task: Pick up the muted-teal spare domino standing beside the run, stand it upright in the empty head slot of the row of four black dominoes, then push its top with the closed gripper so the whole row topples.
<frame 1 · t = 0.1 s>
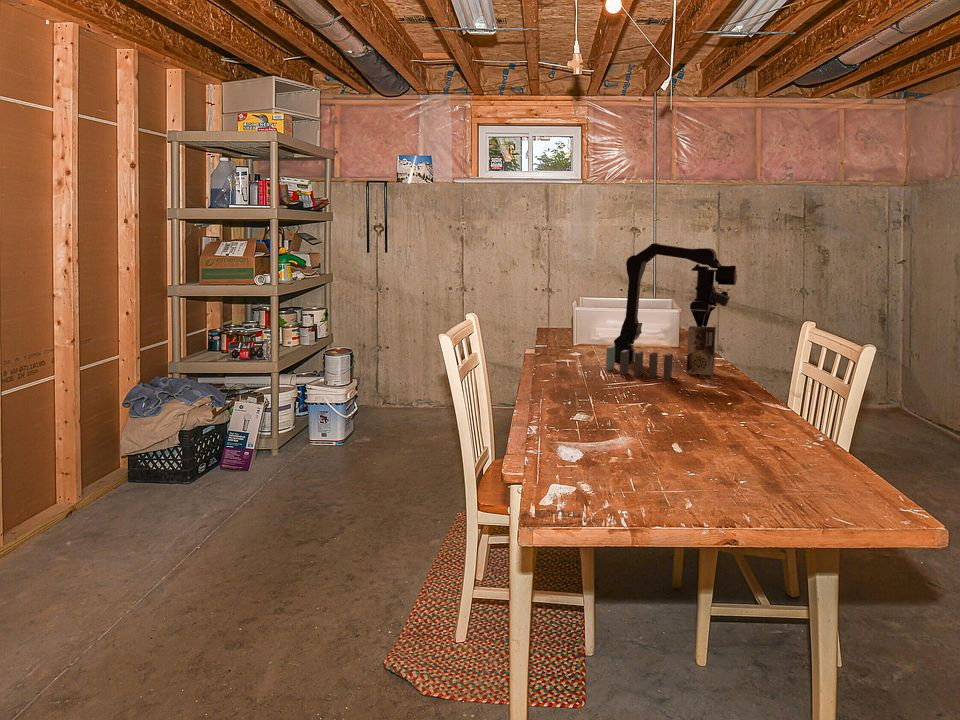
hand: (702, 327, 277), 15 cm above the table, fingers open, 9 cm apart
teal domino: (610, 368, 276), on the table
coffee box: (699, 373, 270), on the table
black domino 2: (623, 373, 267), on the table
black domino 4: (652, 376, 263), on the table
black domino 5: (667, 378, 261), on the table
black domino 3: (638, 375, 265), on the table
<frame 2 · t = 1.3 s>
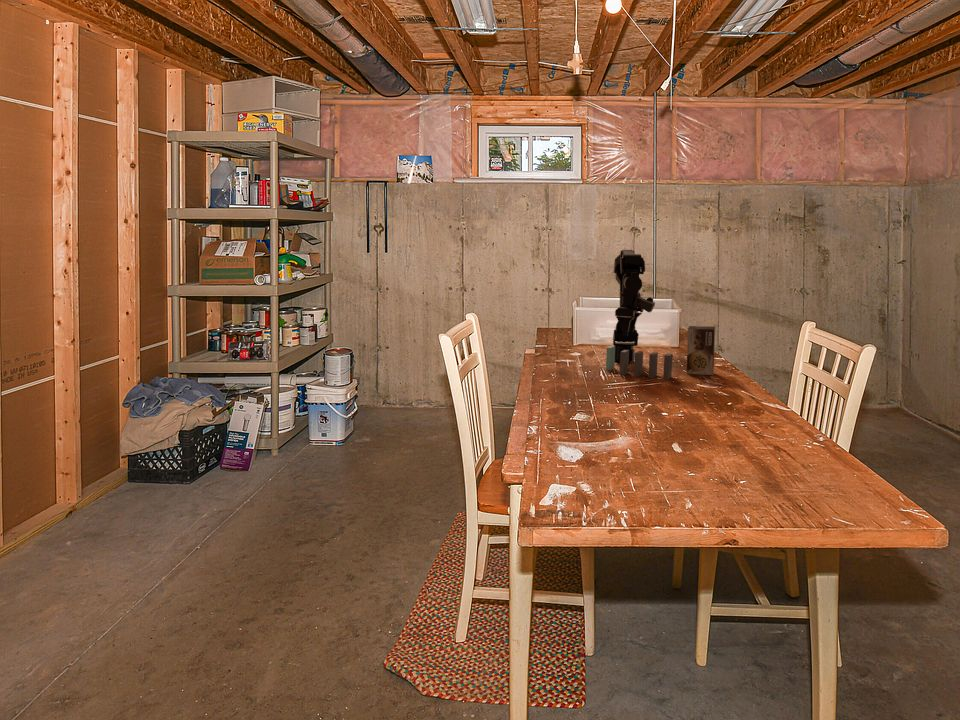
hand: (628, 334, 275), 12 cm above the table, fingers open, 9 cm apart
nothing on the table moved.
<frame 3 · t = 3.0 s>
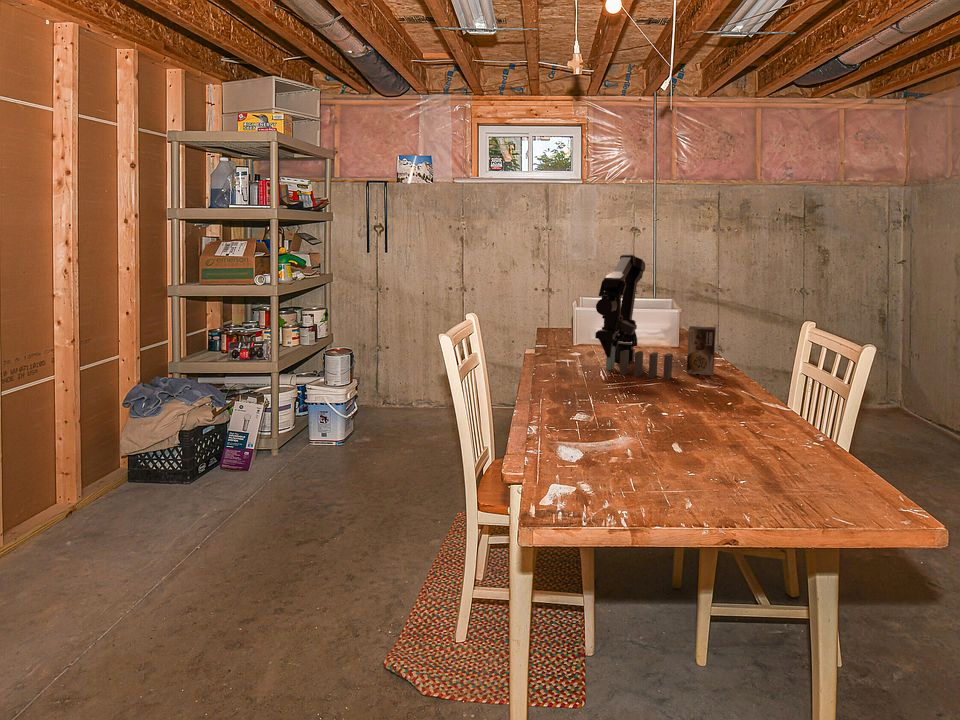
hand: (610, 356, 276), 5 cm above the table, fingers closed on teal domino, 5 cm apart
teal domino: (610, 368, 276), on the table, touching gripper
everything else where it was.
when the fingers open (6 cm above the table, at t = 6.6 s): teal domino drops 1 cm, on the table.
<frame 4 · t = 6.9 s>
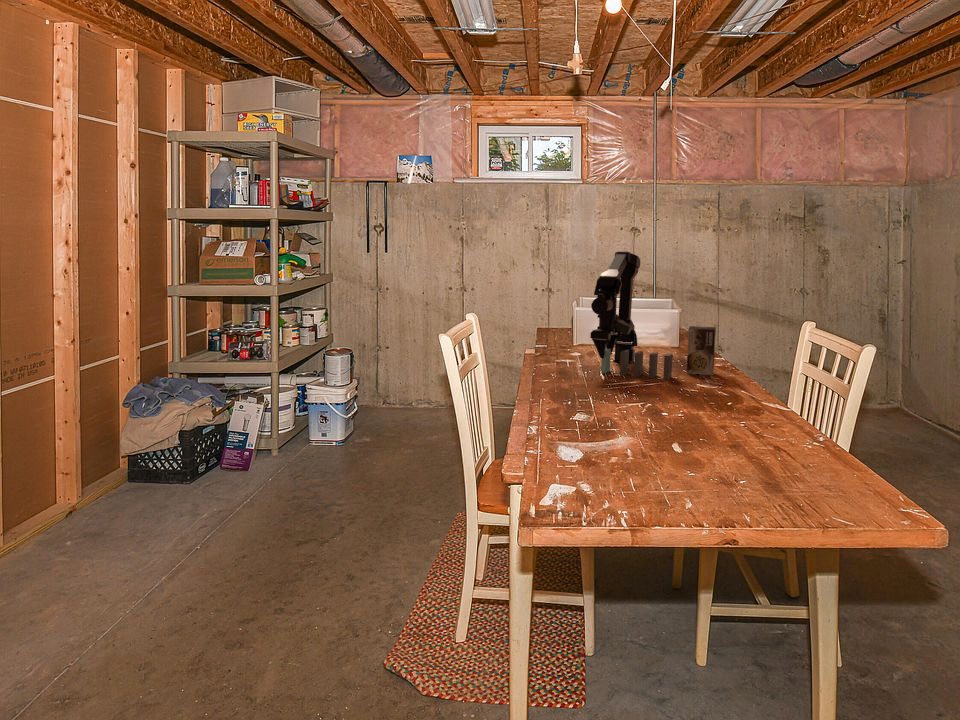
hand: (606, 356, 269), 6 cm above the table, fingers open, 9 cm apart
teal domino: (605, 372, 270), on the table
everything else where it was.
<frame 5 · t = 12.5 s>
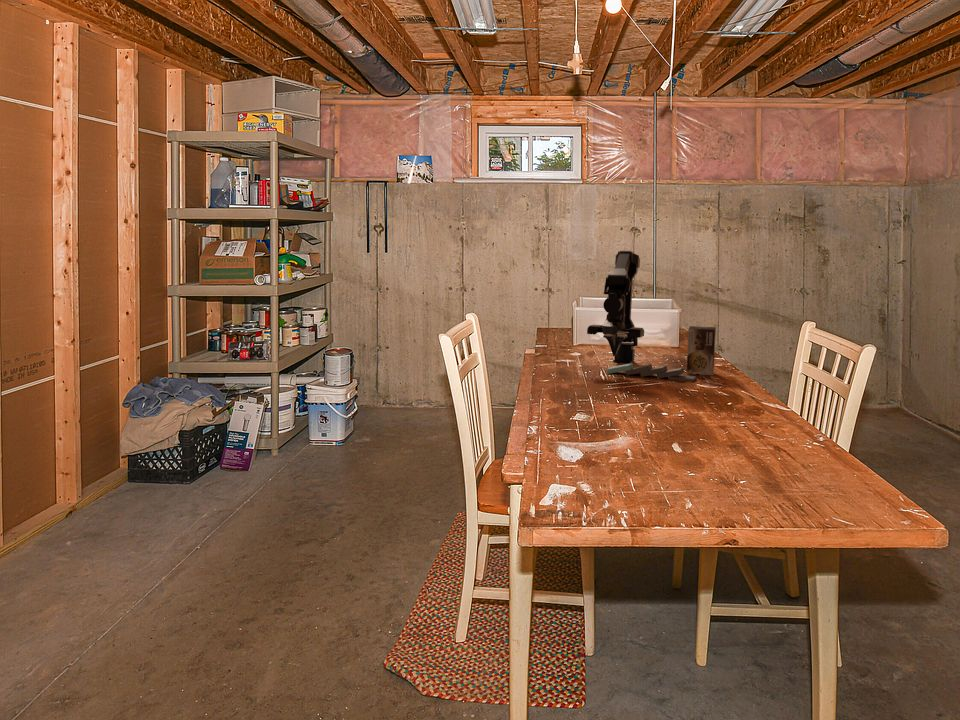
hand: (614, 355, 268), 6 cm above the table, fingers closed
teal domino: (609, 370, 269), point 1 cm above the table, tilted 75°
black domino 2: (627, 372, 267), point 1 cm above the table, tilted 72°, touching black domino 3
black domino 4: (658, 374, 262), point 1 cm above the table, tilted 75°, touching black domino 3
black domino 5: (670, 377, 260), on the table, tilted 90°
black domino 3: (642, 373, 264), point 1 cm above the table, tilted 73°, touching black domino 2, black domino 4
everything else where it was.
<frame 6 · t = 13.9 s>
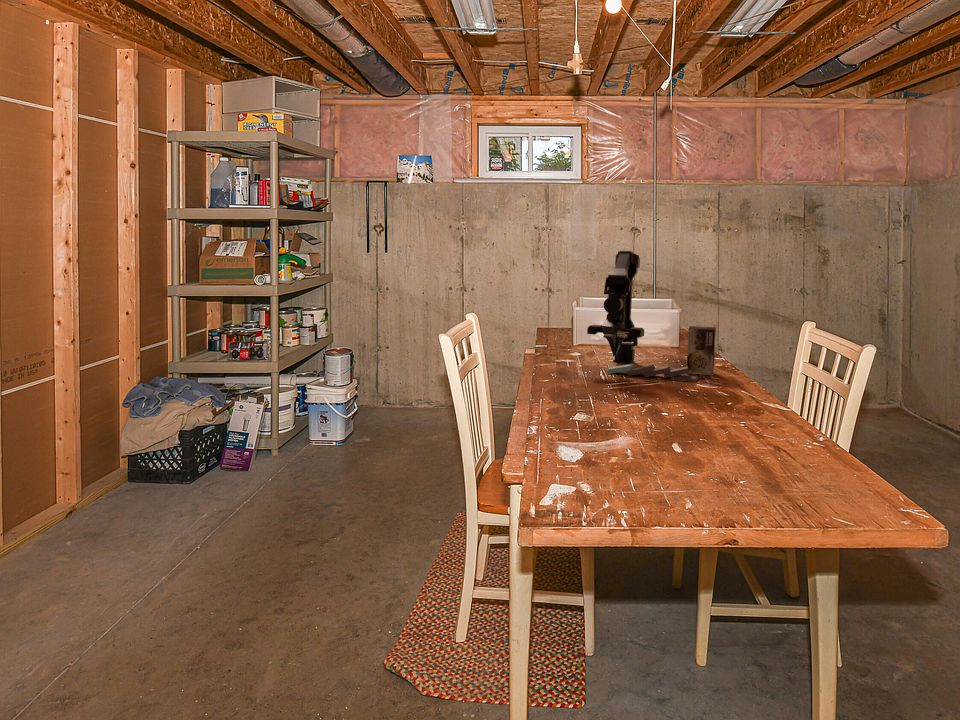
hand: (614, 355, 268), 6 cm above the table, fingers closed
teal domino: (610, 370, 269), point 1 cm above the table, tilted 76°, touching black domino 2
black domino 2: (630, 372, 266), point 1 cm above the table, tilted 73°, touching teal domino
black domino 4: (664, 374, 262), point 1 cm above the table, tilted 74°, touching black domino 3, black domino 5
black domino 5: (672, 378, 260), on the table, tilted 90°, touching black domino 4
black domino 3: (645, 373, 264), point 1 cm above the table, tilted 73°, touching black domino 4
everything else where it was.
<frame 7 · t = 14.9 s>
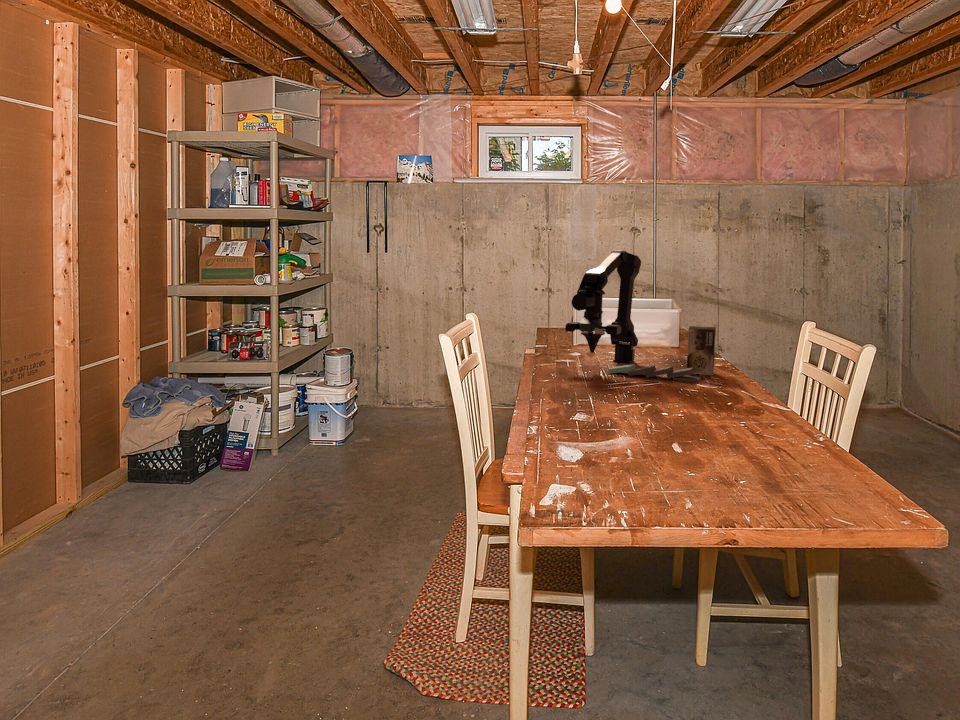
hand: (592, 352, 272), 6 cm above the table, fingers closed
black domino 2: (631, 372, 266), point 1 cm above the table, tilted 74°, touching black domino 3, teal domino
black domino 4: (668, 374, 260), point 1 cm above the table, tilted 75°
black domino 5: (674, 378, 260), on the table, tilted 90°
black domino 3: (648, 374, 263), point 1 cm above the table, tilted 73°, touching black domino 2
everything else where it was.
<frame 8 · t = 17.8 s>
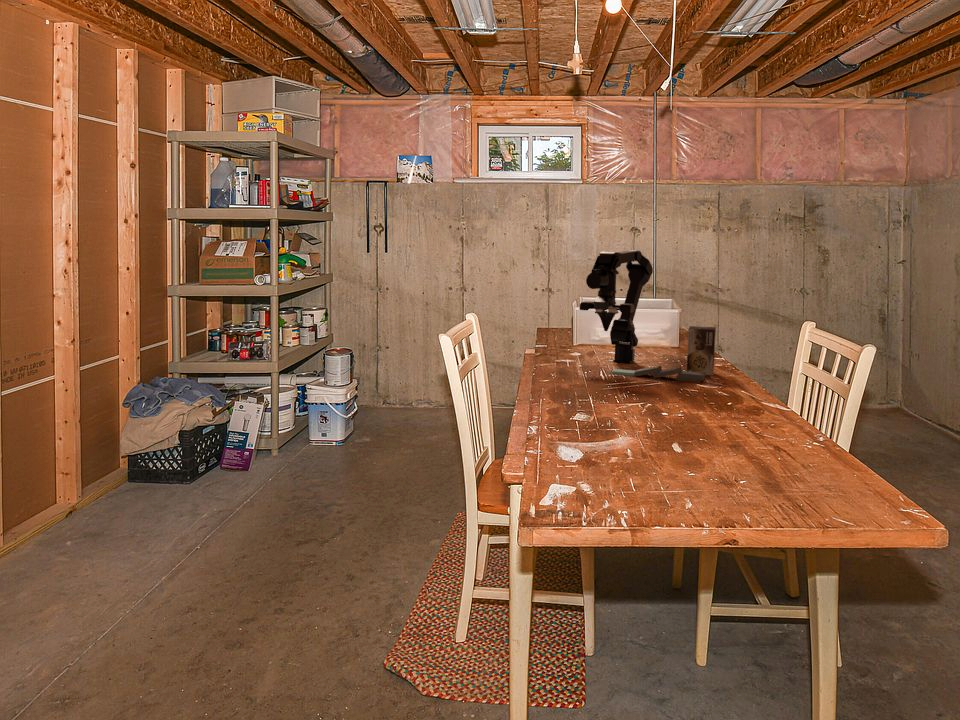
hand: (605, 331, 278), 13 cm above the table, fingers closed
teal domino: (612, 372, 269), on the table, tilted 90°
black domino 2: (636, 372, 265), point 1 cm above the table, tilted 75°, touching black domino 3
black domino 4: (679, 374, 258), point 2 cm above the table, tilted 90°, touching black domino 3, black domino 5
black domino 5: (676, 378, 259), on the table, tilted 90°, touching black domino 4
black domino 3: (657, 374, 262), point 1 cm above the table, tilted 73°, touching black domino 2, black domino 4
everything else where it was.
at the end: teal domino inside the target area (0.1 cm from its centre), on the table; teal domino tilted 90°; black domino 5 tilted 90° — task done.
